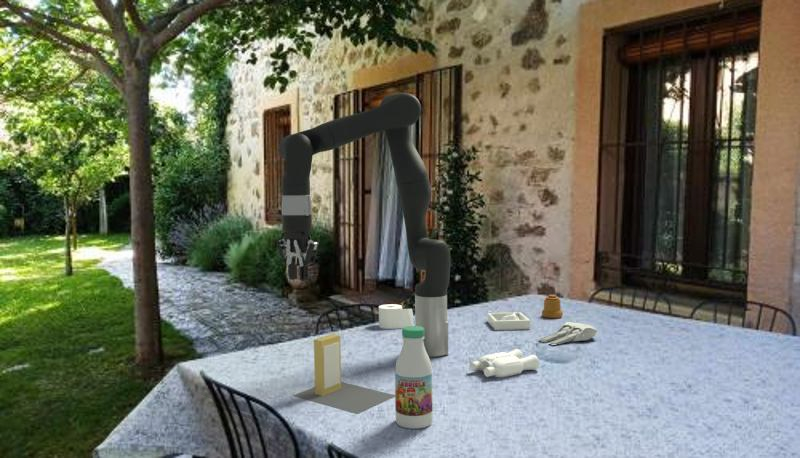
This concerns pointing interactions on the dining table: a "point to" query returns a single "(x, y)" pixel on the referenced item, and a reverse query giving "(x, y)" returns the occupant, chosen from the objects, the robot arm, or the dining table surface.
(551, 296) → the ornamental finial
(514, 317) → the whipped cream
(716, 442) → the dining table surface
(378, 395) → the mat
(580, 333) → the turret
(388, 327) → the toilet paper
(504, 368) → the binoculars
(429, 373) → the milk bottle
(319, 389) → the box
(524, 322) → the holder
